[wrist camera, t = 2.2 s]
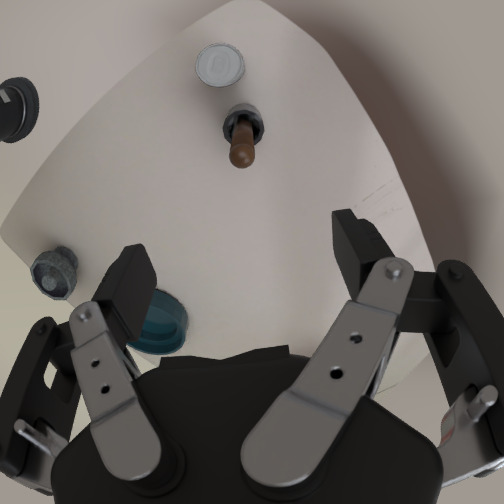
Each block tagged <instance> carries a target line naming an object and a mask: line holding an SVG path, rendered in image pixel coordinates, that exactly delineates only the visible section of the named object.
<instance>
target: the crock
mask: <svg viewBox="0 0 504 504" xmlns="http://www.w3.org/2000/svg"><path fill="white" fill-rule="evenodd" d="M241 114H247V115H249V116H250V117H251V120H252V130H253V140H254V145H256V144H257V143H258V142H259V141H261V139H262V136H263V133H264V125H263V120H262V117H261V114H260V112H259V111H258V110H257V109H256V108H255V107H254V106H252V105H250V104H246V103H243V104H238V105H236V106H234V107H233V108H232V109H231V110H230V111H229V113H228V115H227V117H226V120H225V122H224V125H223V132H224V137H225V139H226V140H227V141H228V142H229V143H230V144H231V143H232V139H233V134H234V129H235V125H236V120H237V117H238V116H239V115H241Z"/></svg>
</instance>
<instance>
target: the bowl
mask: <svg viewBox="0 0 504 504" xmlns="http://www.w3.org/2000/svg"><path fill="white" fill-rule="evenodd" d="M187 328H188V316H187V314H186V311H185V309H184V308H183V307H182V305H181V304H180V303H179V302H178V301H177V300H175V299H174V298H172V297H171V296H169V295H168V294H166V293H163V292H161V291H158V290H155V291H154V294H153V297H152V300H151V303H150V306H149V309H148V312H147V315H146V318H145V322H144V325H143V328H142V331H141V334H140V338H139V341H138V342H127V345H128V346H130V347H132V348H134V349H135V350H138V351H141V352H144V353H147V354H153V355H167V354H170V353H173V352H176V351H177V350H179V349H180V348H181V347H182V346H183V344H184V342H185V339H186V334H187Z"/></svg>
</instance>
